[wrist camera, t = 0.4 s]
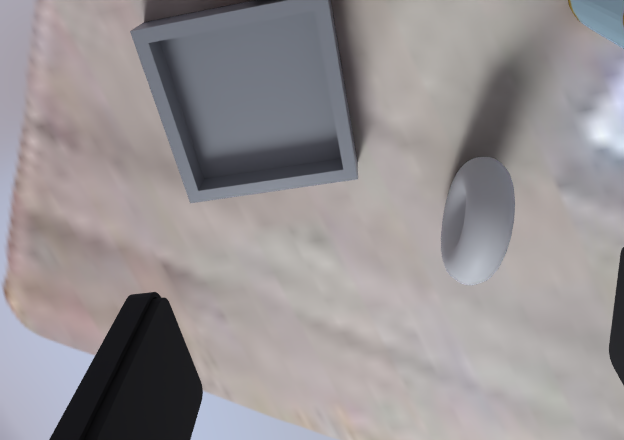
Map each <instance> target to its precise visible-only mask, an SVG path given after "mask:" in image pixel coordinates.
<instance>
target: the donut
mask: <svg viewBox="0 0 624 440" xmlns="http://www.w3.org/2000/svg"><path fill="white" fill-rule="evenodd" d="M514 212H515V197H514V187H513V183H512V180H511V176H510V174H509V172H508V170H507V169H506V168H505V167H504V166H503V165H502V163H500V162H499V161H498V160H496V159H494V158H491V157H477V158H474V159H471V160H469V161H468V162H466V163H465V164H464V165H463V166H462V167H461V168H460V169H459V171H458V172H457V174H456V176H455V178H454V180H453V182H452V184H451V187H450V190H449V193H448V196H447V200H446V204H445V209H444V215H443V221H442V231H441V252H442V259H443V262H444V265H445V268H446V271H447V272H448V273H449V275H450V276H451V277H452V278H454V279H455V280H457V281H458V282H459V283H461V284H465V285H475V284H478V283H481V282H484V281H487V280H488V279H489V278H490V277H492V275H493V274H494V273H495V272H496V271H497V269H498V268H499V266H500V264H501V262H502V260H503V258H504V256H505V254H506V252H507V248H508V245H509V242H510V238H511V234H512V228H513V223H514Z"/></svg>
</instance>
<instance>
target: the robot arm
mask: <svg viewBox="0 0 624 440" xmlns="http://www.w3.org/2000/svg"><path fill="white" fill-rule="evenodd" d="M609 355H610V359H611V362H612V365H613V367H614V369H615V371H616V372H617V374H618V376H619V378H620V380H621V381H622V383H623V385H624V247H623V248H622V250H621V255H620V263H619V271H618V279H617V287H616V295H615V303H614V311H613V319H612V327H611V335H610V343H609ZM202 394H203V391H202V384H201V381H200V378H199V376H198V373H197V371H196V368H195V366H194V363H193V361H192V358H191V356H190V353H189V351H188V348H187V346H186V343H185V341H184V338H183V336H182V333H181V331H180V328H179V326H178V323H177V321H176V318H175V316H174V313H173V311H172V308H171V306H170V303H169V301H168V300H167V299H166V298H161V297H160V295H159V294H158V293H156V292H151V293H142V294H133V295H130V296H128V298H127V299H126V301H125V303H124V304H123V306H122V308H121V310H120V312H119V314H118V315H117V317H116V319H115V321H114V323H113V324H112V326H111V328H110V330H109V332H108V334H107V335H106V337H105V339H104V341H103V343H102V345H101V346H100V348H99V350H98V352H97V354H96V355H95V357H94V359H93V361H92V363H91V365H90V366H89V368H88V370H87V372H86V374H85V376H84V377H83V379H82V381H81V383H80V385H79V386H78V389H77V390H76V392H75V394H74V396H73V397H72V399H71V401H70V403H69V405H68V407H67V408H66V410H65V412H64V414H63V416H62V418H61V419H60V421H59V423H58V425H57V427H56V428H55V430H54V433H53V434H52V436H51V438H50V440H190V439H191V435H192V432H193V429H194V425H195V421H196V418H197V414H198V411H199V408H200V404H201V401H202Z"/></svg>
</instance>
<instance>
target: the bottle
mask: <svg viewBox="0 0 624 440" xmlns="http://www.w3.org/2000/svg"><path fill="white" fill-rule="evenodd" d="M568 2H569V6H570V9H571V10H572V12H573V14H574V15H575V17H576V18H577V19H578V20H579V21H580V22H581V23H582V24H584V25H585V26H587V27H588V28H590V29H591V30H593V31H595V32H596V33H598V34H600V35H601V36H603V37H605V38H606V39H608V40H610V41H612V42H613V43H615V44H617V45H618V46H620V47H622V48H623V49H624V0H568Z"/></svg>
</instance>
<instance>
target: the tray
mask: <svg viewBox="0 0 624 440" xmlns="http://www.w3.org/2000/svg"><path fill="white" fill-rule="evenodd" d="M130 32H131V35H132V38H133V41H134V44H135V47H136V49H137V52H138V55H139V58H140V61H141V64H142V67H143V69H144V72H145V75H146V78H147V81H148V84H149V87H150V89H151V92H152V95H153V98H154V101H155V104H156V107H157V109H158V112H159V115H160V118H161V121H162V124H163V126H164V129H165V132H166V135H167V138H168V141H169V144H170V146H171V149H172V152H173V155H174V158H175V161H176V164H177V166H178V169H179V172H180V175H181V178H182V181H183V184H184V186H185V189H186V192H187V195H188V198H189V201H190V203H195V202H202V201H209V200H216V199H223V198H230V197H237V196H244V195H251V194H258V193H265V192H272V191H279V190H286V189H293V188H300V187H307V186H314V185H321V184H328V183H335V182H342V181H349V180H355V179H358V162H357V156H356V150H355V144H354V138H353V132H352V126H351V120H350V114H349V108H348V102H347V96H346V90H345V83H344V77H343V71H342V65H341V59H340V53H339V47H338V41H337V35H336V29H335V23H334V17H333V11H332V5H331V0H254V1H249V2H244V3H239V4H234V5H229V6H224V7H219V8H214V9H209V10H203V11H198V12H193V13H188V14H183V15H178V16H173V17H168V18H163V19H158V20H153V21H148V22H144V23H142V24H141V25H139V26H138V27H136V28H134V29H133V30H131V31H130Z"/></svg>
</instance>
